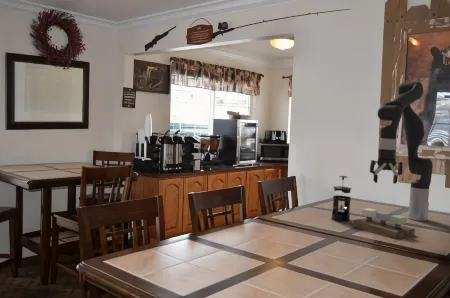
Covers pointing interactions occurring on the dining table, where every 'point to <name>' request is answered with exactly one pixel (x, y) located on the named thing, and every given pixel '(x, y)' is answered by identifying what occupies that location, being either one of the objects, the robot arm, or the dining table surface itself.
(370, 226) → the key panel
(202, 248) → the dining table surface
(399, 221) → the sage key
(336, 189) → the french press
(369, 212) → the cream block
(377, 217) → the grey squarish block
